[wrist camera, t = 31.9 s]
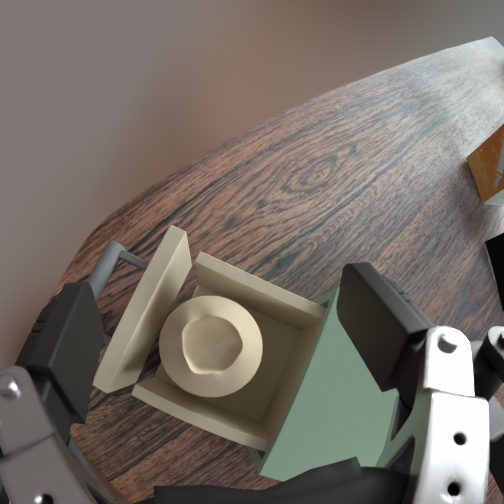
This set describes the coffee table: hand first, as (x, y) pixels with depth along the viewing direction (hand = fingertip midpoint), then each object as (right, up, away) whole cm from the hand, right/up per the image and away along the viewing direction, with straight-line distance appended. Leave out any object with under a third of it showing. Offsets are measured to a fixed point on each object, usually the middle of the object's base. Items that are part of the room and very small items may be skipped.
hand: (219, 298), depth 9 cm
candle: (-2, -6, +15) cm, 16 cm away
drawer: (-4, -6, +16) cm, 17 cm away
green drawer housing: (+9, -12, +16) cm, 22 cm away
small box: (+37, +12, +28) cm, 49 cm away
